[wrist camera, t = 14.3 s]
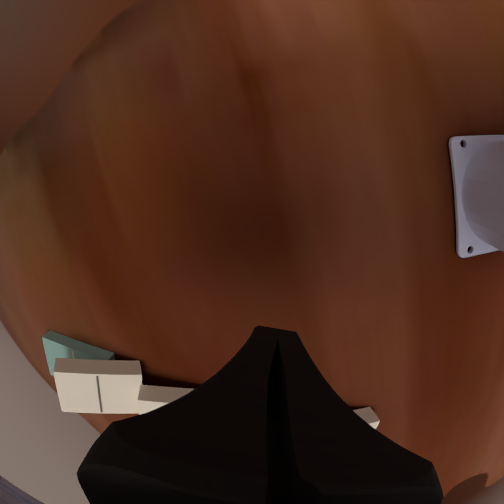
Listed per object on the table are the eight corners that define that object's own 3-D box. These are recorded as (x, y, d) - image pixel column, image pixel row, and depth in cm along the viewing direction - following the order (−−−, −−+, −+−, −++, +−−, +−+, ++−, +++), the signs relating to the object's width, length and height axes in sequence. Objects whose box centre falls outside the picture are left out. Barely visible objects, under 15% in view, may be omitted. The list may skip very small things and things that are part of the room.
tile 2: (141, 375, 22) (53, 372, 19) (142, 413, 23) (62, 412, 20) (139, 360, 24) (55, 357, 21) (139, 398, 25) (63, 397, 22)
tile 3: (232, 406, 22) (137, 400, 21) (227, 441, 23) (142, 436, 22) (230, 389, 24) (140, 384, 22) (225, 425, 25) (144, 420, 24)
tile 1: (107, 361, 23) (41, 337, 23) (112, 400, 24) (50, 375, 24) (116, 349, 24) (53, 327, 25) (120, 387, 26) (60, 364, 26)
